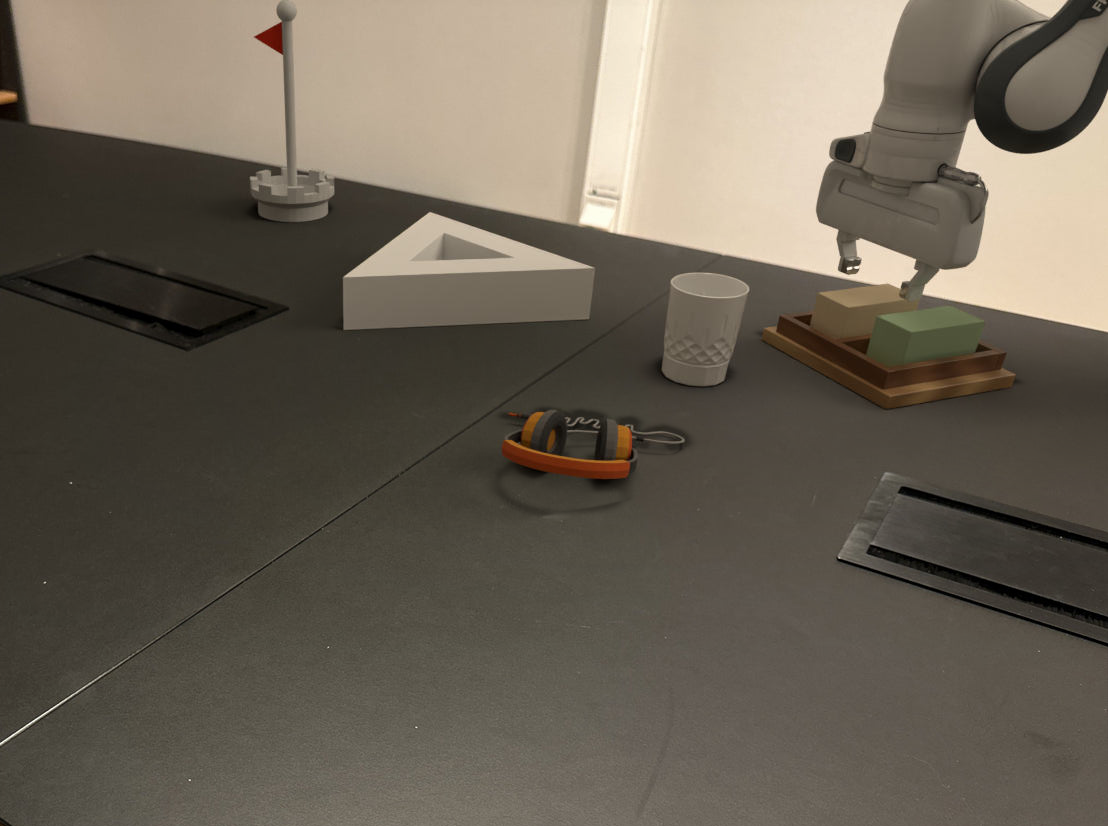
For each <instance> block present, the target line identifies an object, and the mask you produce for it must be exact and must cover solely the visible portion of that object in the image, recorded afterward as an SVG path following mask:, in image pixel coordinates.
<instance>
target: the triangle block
mask: <svg viewBox="0 0 1108 826" xmlns="http://www.w3.org/2000/svg"><path fill="white" fill-rule="evenodd" d="M595 273H596V267H594V266H590V265H587V264H585V263H582V262H579V261H576V260H573V259H570V258H567V257H564V256H561V255H558V254H555V253H553V252H549V251H548V250H547V251H546V250H545V249H544V250H543V249H540V248H539V247H538V248H537V247H535V246H531V245H528V244H526V243H523V242H520V241H517V240H514V239H511V238H508V237H505V236H502V235H500V234H497V233H493V232H490V231H487V230H484V229H481V228H478V227H475V226H472V225H469V224H466V223H464V222H461V221H458V220H455V219H452V218H449V217H446V216H443V215H440V214H437V213H434V212H431V211H429V212H428V213H427V214H425V215H424V216H423V217H421V218H420V219H419V220H417V221H415V222H414V223H413V224H412V225H411V226H409V227H408V228H406V229H405V230H404V231H402V232H401V233H400V234H399V235H397V236H396V237H394V238H393V239H392V240H390V241H389V242H388V243H387V244H385V245H383V247H381V248H379V250H377V251H376V252H374V253H373V254H371V256H369V257H368V258H366V259H365V260H364V261H363V262H361V263H360V264H359V265H356V267H355V268H353V269H352V270H351V271H349V272H348V273H347V274H346V275H344V276H342V308H343V309H342V312H343V313H342V314H343V317H342V318H343V319H342V320H343V321H342V322H343V323H342V324H343V325H342V326H343V331H352V330H353V331H354V330H355V331H357V330H373V329H374V330H375V329H378V330H379V329H399V328H401V329H402V328H418V327H419V328H420V327H421V328H422V327H423V328H425V327H446V326H467V325H468V326H469V325H470V326H471V325H489V324H490V325H492V324H493V325H494V324H513V323H516V324H517V323H534V322H535V323H536V322H558V321H577V320H578V321H580V320H583V321H584V320H590V317H591V316H590V315H591V309H592V307H591V306H592V299H593V292H594V291H593V290H594V282H595Z"/></svg>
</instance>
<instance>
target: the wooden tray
mask: <svg viewBox="0 0 1108 826" xmlns="http://www.w3.org/2000/svg"><path fill="white" fill-rule="evenodd" d="M812 314H813V310H806V311H799V312H792V313H786V314H780V315H779V316H778V321H777V325H775V326H769V327H764V328H763V330H762V331H763V332H762V336H761V341H763V342H765V343H767V344H768V345H770V346H772V347H774V348H775V349H777V350H779V351H781V352H783V353H785V354H786V355H788V356H789V357H791V358H793V359H795V360H797V361H799V362H801V363H802V364H804V365H806V366H808V367H809V368H811V369H812V370H814V371H816V372H818V373H820V374H822V375H824V376H825V377H827V378H829V379H831V380H832V381H834V382H836V383H837V384H839V385H842V386H843V387H845V388H846V389H849V390H850V391H852V392H854V393H856V394H858V395H859V396H861V397H862V398H864V399H866V400H868V401H869V402H872V403H873V404H875V405H877V406H878V407H880V408H882V409H884V410H891V409H895V408H901V407H907V406H912V405H918V404H924V403H929V402H935V401H940V400H947V399H952V398H953V399H954V398H957V397H964V396H969V395H974V394H980V393H981V394H982V393H985V392H990V391H997V390H1003V389H1009V388H1012V386H1013V384H1014V381H1015V378H1016V375H1017V374H1016V373H1014V372H1011V371H1009V370H1007V369H1005V368H1003V365H1004V363H1005V359H1006V357H1007V354H1008V351H1006V350H1003V349H1001V348H1000V347H997V346H994V345H992V344H990V343H987V342H985V341H984V340H981V339H979V342H978V345H977V348H976V351H975V353H971V354H964V355H958V356H952V357H946V358H940V359H934V360H928V361H921V362H915V363H909V364H903V365H897V366H891V367H888V366H886V365H884V364H882V363H880V362H878V361H876V360H874V359H872V358H870V357H868V356H866V353H867V349H868V346H869V342H870V338H871V335H872V334H866V335H860V336H853V337H846V338H840V339H833V338H831V337H830V336H828V335H826V334H824V333H822V332H820V331H818V330H816V329H814V328H812V327H810V322H811V318H812Z"/></svg>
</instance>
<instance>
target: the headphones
mask: <svg viewBox="0 0 1108 826" xmlns="http://www.w3.org/2000/svg"><path fill="white" fill-rule="evenodd" d="M507 414H508V415H507V416H511V417H516V418H518V419H523V420H526V421H525V423H524V425H523V427H522V429H518V430H513V431H512V432H510V433H508V434H506V435H504V439H503V441H502V445H501V454H502V456H503V457H504V458H505V459H507V460H509V461H511V462H513V463H515V464H518V465H520V466H524V467H526V468H530V469H534V470H538V471H541V472H547V473H551V474H556V475H562V476H569V477H574V478H575V477H576V478H582V479H583V478H585V479H595V480H596V479H597V480H614V479H626V478H628V475H630V474H633V473H634V472H636V470H637V465H638V460H639V452H638V450H637V443H636V442H650V443H656V444H665V445H680V444H683V443H685V438H684V437H683V436H681V435H679V434H676V433H673V432H669V431H661V430H660V431H649V432H648V431H647V432H641V431H636V430H634V425H633V424H625V425H620V424H618V423H617V421H616V420H615V419H612V418H611V419H610V418H605V419H604V420H603V421H602V422H601V423H600V420H599V419H596V418H590V419H588V420H587V421H585V418H584V417H583V416H579V417H576V419H575V420H574V422H572V423H570V424H569V422H570V421H571V417H568V416H567V417H566V416H565V414H564V412H562V411H561V410H557V409H548V410H546V411H545V412H543V411H536V412H534V413H532V414H531V415H528V414H523V413H512V412H508V413H507ZM591 422H595V423H594V424H592V428H593V429H595V430H582V429H581V430H580V429H570V430H569V429H568V428H569V427H573V426H575V425H576V424H577V423H579V424H580V425H587V424H590V423H591ZM599 423H600V425H599ZM597 430H598V431H597ZM569 433H575V434H576V433H577V434H578V433H579V434H595V435H596V434H597V435H596V439H595V440H596V441H595V448H594V457H593V459H583V458H574V457H568V456H563V452H564V450H565V446H566V443H567V438H568V434H569ZM633 434H635V435H636V436H633ZM651 435H668V436H672V437H675V438H677V439H680V440H679V441H666V440H657V439H650V438H645V436H651ZM633 440H635V441H636V442H633Z"/></svg>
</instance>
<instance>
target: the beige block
mask: <svg viewBox="0 0 1108 826" xmlns="http://www.w3.org/2000/svg"><path fill="white" fill-rule="evenodd" d="M900 291H901V287H897V286H895V285H893V284H890V283H881V284H873V285H866V286H865V285H864V286H859V287H850V288H842V289H836V290H828V291H827V290H826V291H820V292H817V294H816V298H815V302H814V307H813V310H812V311H813V314H812V318H811V322H810V327H812V328H814V329H816V330H818V331H820V332H822V333H824V334H826V335H828V336H830V337H831V338H833V339H840V338H846V337H853V336H860V335H866V334H872V331H873V328H874V324H875V320H876V317H877V316H879V315H886V314H893V313H900V312H907V311H914V310H918V307H919V303H920V300H921V299H920V300H918V301H911V302H910V301H908V300H905V299H903V298H901V297H900V296H899V292H900Z"/></svg>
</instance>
